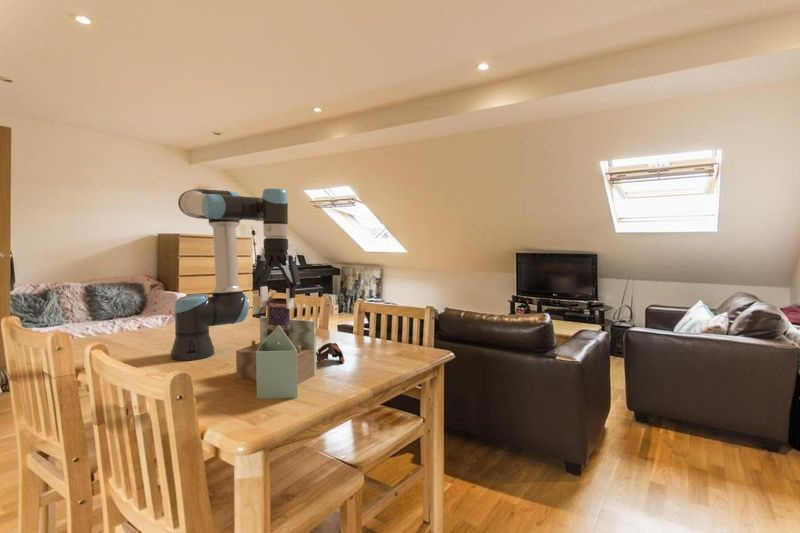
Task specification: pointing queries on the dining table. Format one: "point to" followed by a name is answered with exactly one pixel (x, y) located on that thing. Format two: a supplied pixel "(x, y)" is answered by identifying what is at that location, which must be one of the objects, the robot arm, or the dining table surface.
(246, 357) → the wall shelf
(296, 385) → the planter
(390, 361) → the dining table surface
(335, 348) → the brown arched figurine
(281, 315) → the mug
